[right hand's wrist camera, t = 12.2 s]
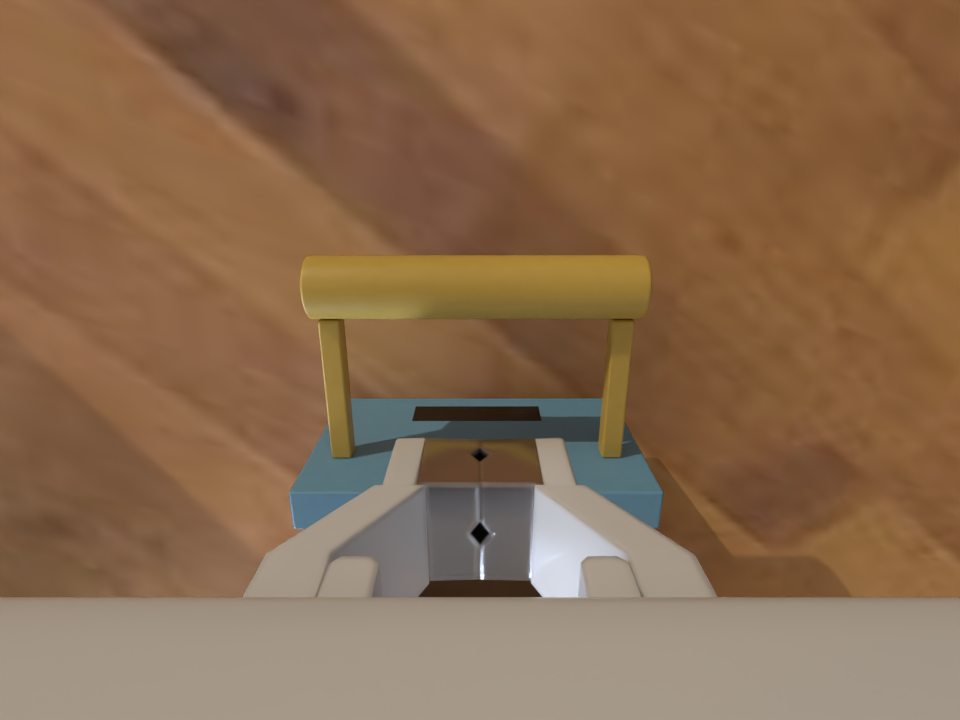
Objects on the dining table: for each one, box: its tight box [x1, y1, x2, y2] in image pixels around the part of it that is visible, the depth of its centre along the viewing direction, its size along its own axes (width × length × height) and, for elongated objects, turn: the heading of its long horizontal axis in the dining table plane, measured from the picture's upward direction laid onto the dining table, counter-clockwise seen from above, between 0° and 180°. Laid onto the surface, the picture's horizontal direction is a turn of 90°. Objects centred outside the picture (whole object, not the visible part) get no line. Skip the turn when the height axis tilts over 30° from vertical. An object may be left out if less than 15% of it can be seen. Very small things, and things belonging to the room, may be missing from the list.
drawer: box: [289, 255, 663, 597], centre depth 20 cm, size 25×10×6 cm, turn 0°
